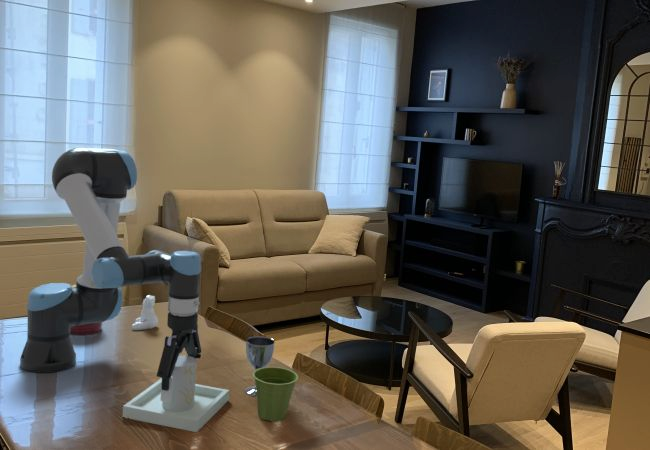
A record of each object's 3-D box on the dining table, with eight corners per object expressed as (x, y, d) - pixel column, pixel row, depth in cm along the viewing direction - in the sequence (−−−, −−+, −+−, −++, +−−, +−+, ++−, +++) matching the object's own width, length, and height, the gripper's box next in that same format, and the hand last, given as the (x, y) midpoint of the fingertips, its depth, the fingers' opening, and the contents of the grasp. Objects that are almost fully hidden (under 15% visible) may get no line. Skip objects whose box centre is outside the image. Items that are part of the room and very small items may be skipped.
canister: (93, 337, 211) (95, 286, 209) (55, 333, 211) (57, 283, 209) (107, 325, 224) (109, 277, 222) (71, 322, 224) (73, 274, 222)
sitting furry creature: (136, 322, 231) (137, 290, 229) (159, 323, 232) (161, 292, 230) (130, 330, 221) (132, 297, 220) (155, 331, 222) (157, 298, 221)
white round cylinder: (186, 413, 158) (188, 368, 157) (156, 408, 160) (158, 363, 158) (198, 401, 166) (201, 358, 165) (170, 396, 168) (172, 353, 166)
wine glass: (275, 389, 181) (279, 339, 179) (263, 399, 173) (267, 347, 171) (250, 383, 183) (253, 334, 181) (238, 393, 176) (241, 342, 174)
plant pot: (277, 431, 156) (280, 388, 154) (240, 416, 162) (243, 375, 160) (303, 415, 166) (307, 374, 164) (268, 402, 172) (271, 363, 170)
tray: (122, 417, 156) (123, 405, 155) (161, 387, 175) (162, 377, 175) (196, 432, 151) (197, 420, 151) (228, 400, 171) (229, 390, 170)
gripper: (173, 327, 147) (169, 413, 150) (216, 302, 171) (211, 376, 174) (144, 322, 148) (140, 407, 151) (191, 298, 173) (187, 372, 176)
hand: (178, 391), depth 163 cm, fingers open, 13 cm apart
